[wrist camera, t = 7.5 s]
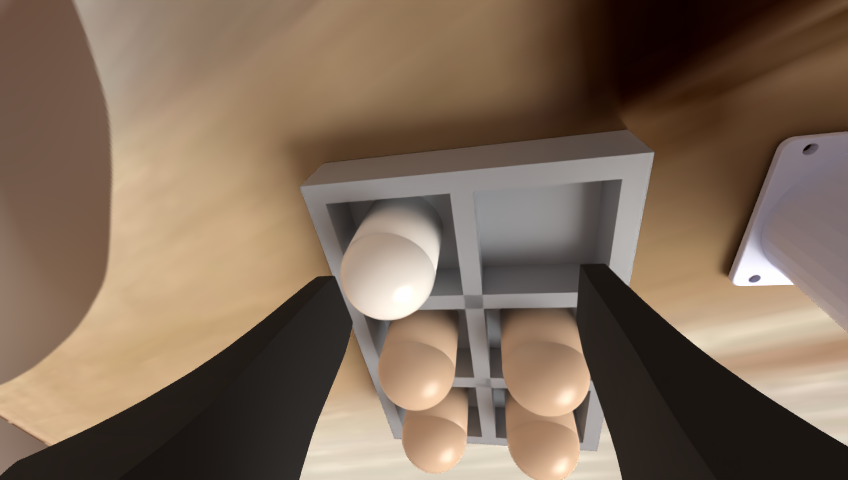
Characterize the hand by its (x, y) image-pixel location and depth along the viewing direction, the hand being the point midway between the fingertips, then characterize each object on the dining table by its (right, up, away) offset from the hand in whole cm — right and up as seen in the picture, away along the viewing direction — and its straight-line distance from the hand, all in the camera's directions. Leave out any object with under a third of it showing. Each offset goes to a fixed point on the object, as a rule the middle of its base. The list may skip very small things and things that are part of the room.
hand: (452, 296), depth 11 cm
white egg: (-2, +2, +9) cm, 10 cm away
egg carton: (+3, -3, +13) cm, 13 cm away
